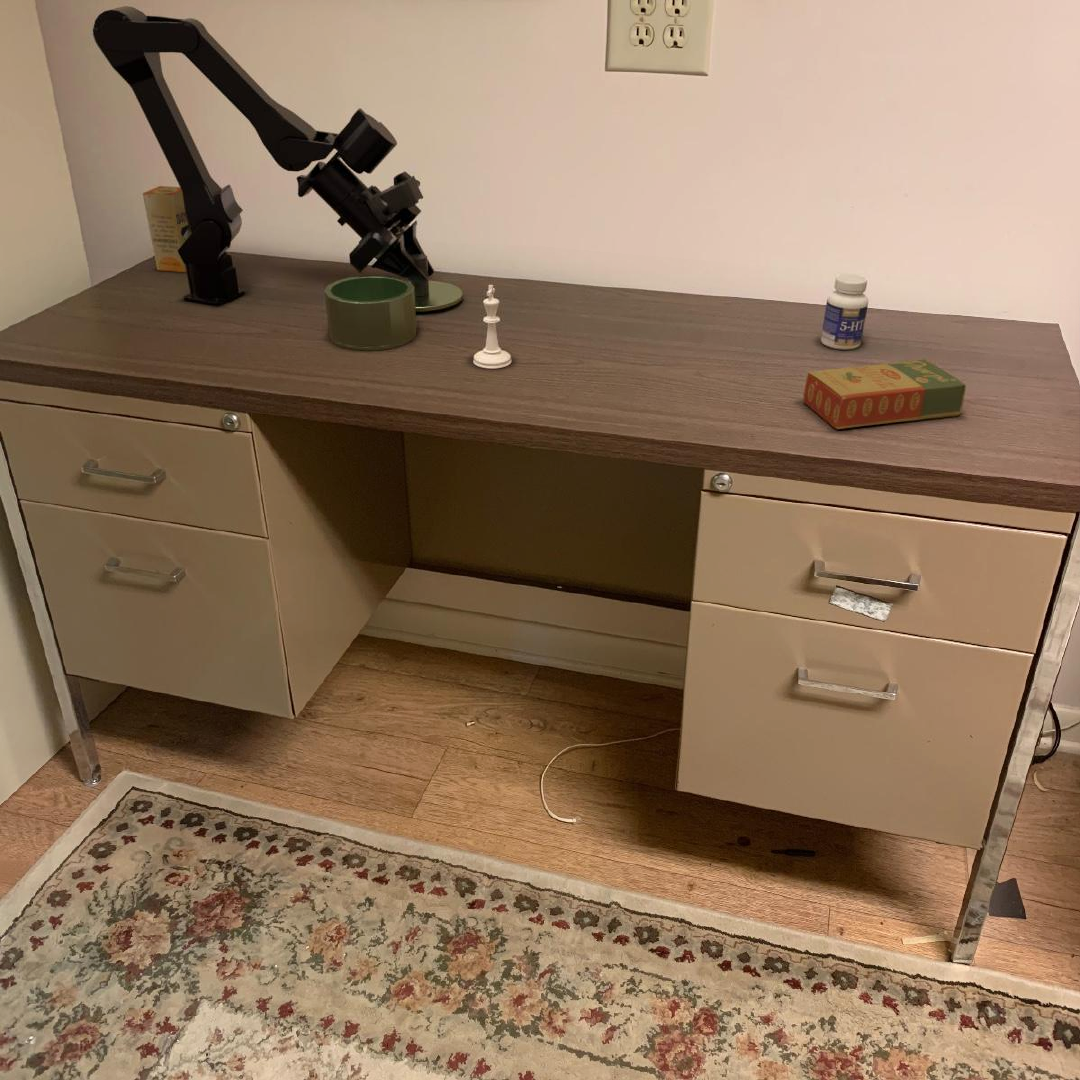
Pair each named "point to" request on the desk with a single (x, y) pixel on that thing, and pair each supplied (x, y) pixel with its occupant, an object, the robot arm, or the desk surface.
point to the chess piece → (491, 338)
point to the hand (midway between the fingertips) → (428, 278)
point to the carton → (883, 394)
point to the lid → (433, 290)
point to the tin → (371, 312)
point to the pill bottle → (845, 313)
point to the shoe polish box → (167, 226)
